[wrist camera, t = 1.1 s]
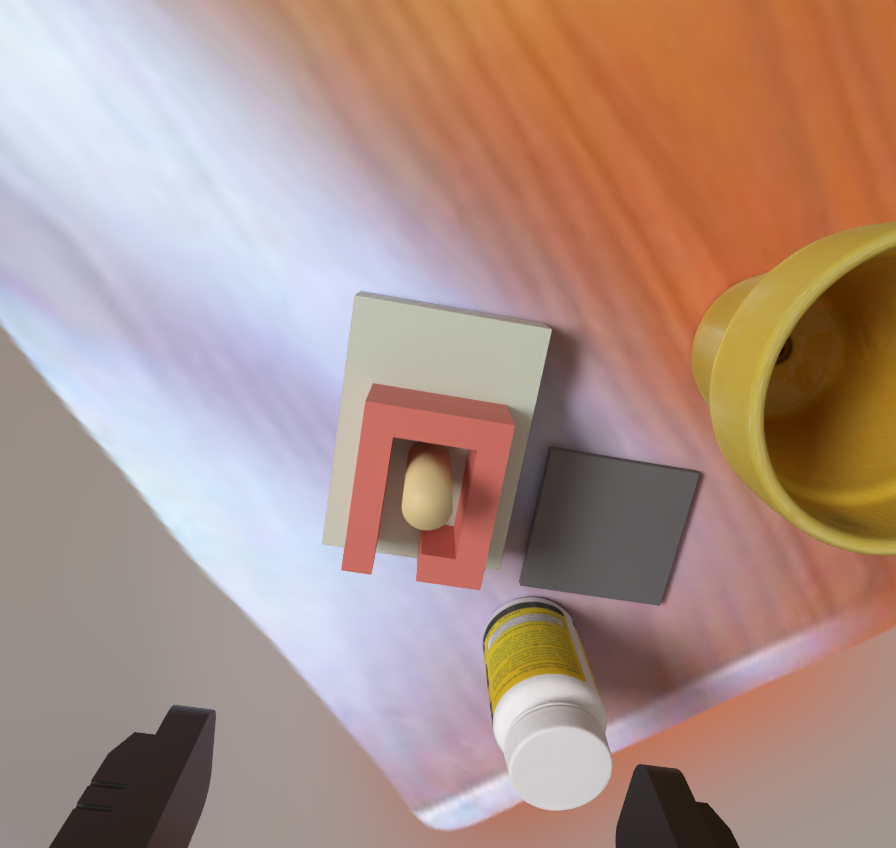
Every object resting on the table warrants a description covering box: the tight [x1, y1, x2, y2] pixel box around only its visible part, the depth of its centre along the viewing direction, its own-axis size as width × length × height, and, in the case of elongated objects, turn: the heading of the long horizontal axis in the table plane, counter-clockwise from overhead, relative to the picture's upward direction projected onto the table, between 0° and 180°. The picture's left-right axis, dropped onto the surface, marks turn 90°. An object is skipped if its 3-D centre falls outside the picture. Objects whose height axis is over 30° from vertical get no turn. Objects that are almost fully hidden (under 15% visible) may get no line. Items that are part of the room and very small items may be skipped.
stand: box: [322, 291, 552, 570], centre depth 25 cm, size 11×8×7 cm
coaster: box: [519, 447, 700, 606], centre depth 30 cm, size 7×7×1 cm
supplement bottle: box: [483, 597, 613, 810], centre depth 28 cm, size 5×5×8 cm
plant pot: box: [691, 222, 896, 556], centre depth 23 cm, size 10×10×10 cm
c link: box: [341, 383, 515, 590], centre depth 26 cm, size 7×6×3 cm
